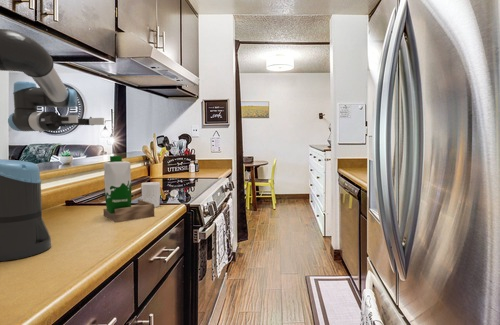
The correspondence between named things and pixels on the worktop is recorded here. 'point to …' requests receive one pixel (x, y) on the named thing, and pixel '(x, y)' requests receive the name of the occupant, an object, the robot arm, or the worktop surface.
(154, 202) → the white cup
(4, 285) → the worktop surface
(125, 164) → the white two-tone container
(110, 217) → the wooden tray
